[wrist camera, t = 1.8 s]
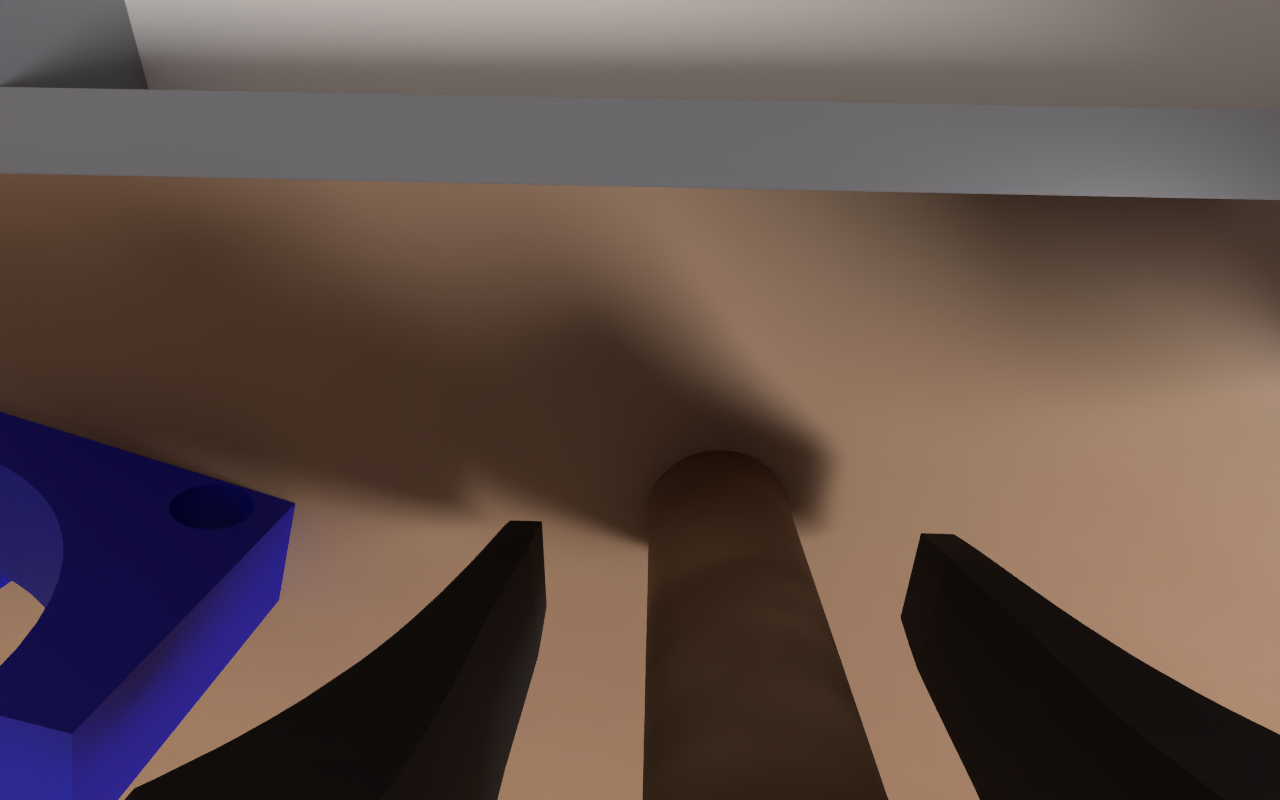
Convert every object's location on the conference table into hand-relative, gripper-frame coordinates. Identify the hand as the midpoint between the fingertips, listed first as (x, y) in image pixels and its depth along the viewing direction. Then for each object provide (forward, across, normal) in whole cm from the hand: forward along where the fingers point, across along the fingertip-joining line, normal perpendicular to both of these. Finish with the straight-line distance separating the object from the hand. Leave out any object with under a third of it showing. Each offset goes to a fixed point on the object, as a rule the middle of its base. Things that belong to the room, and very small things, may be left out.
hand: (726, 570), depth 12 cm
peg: (+2, 0, 0) cm, 2 cm away
